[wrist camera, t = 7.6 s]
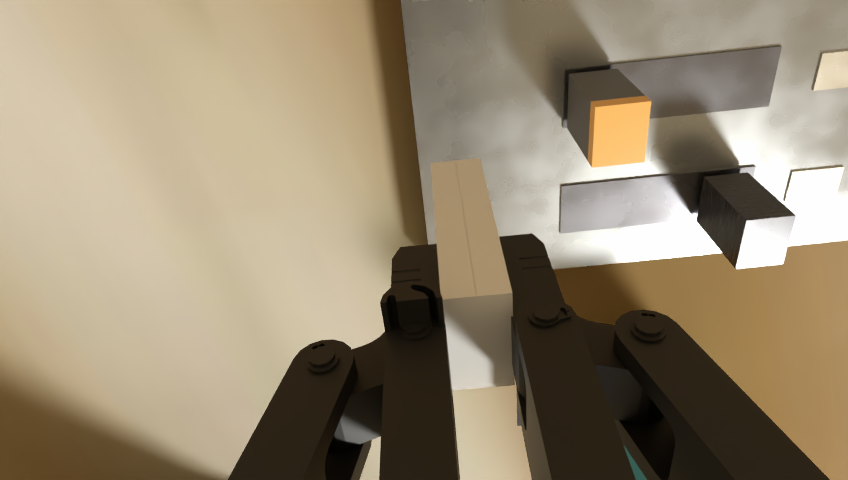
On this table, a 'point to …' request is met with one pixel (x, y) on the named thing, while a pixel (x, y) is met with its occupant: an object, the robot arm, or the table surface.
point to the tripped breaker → (608, 117)
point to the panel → (668, 124)
